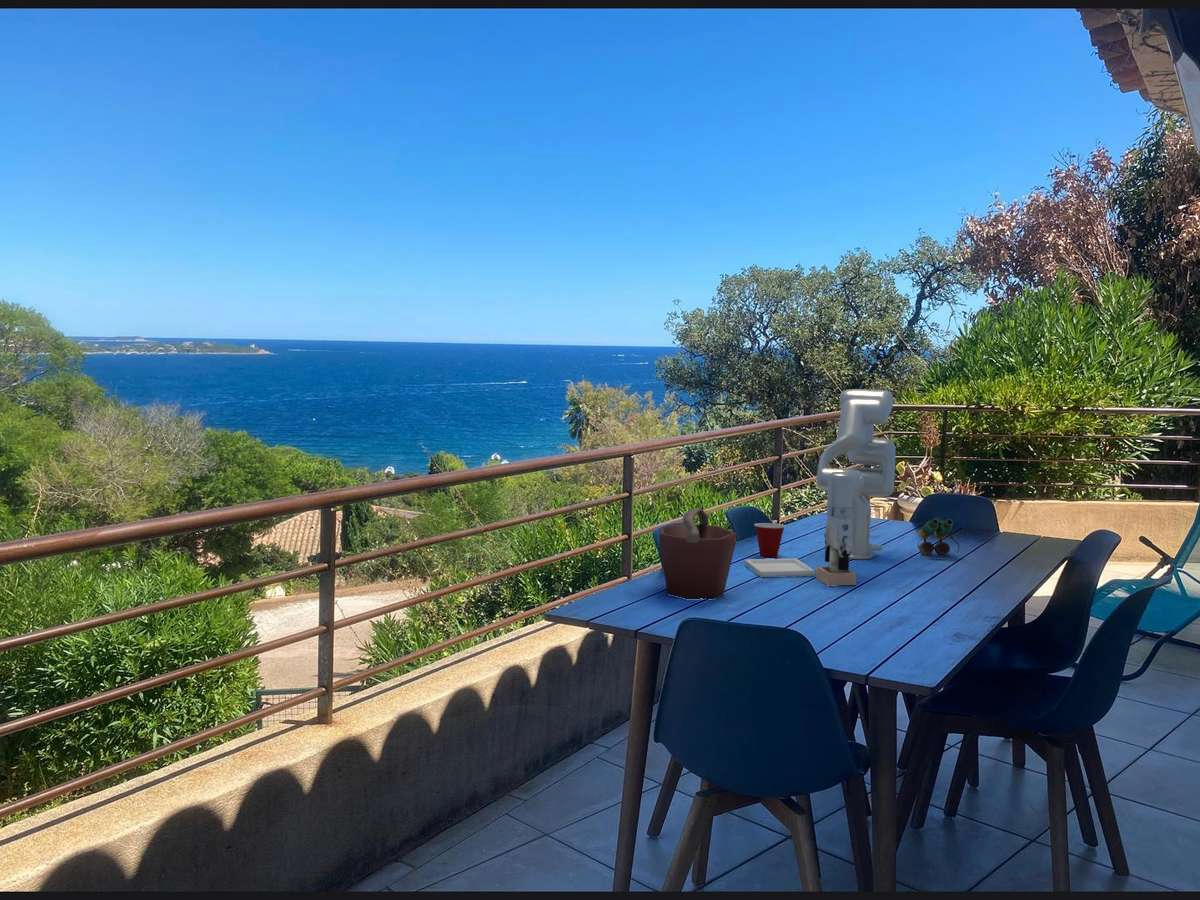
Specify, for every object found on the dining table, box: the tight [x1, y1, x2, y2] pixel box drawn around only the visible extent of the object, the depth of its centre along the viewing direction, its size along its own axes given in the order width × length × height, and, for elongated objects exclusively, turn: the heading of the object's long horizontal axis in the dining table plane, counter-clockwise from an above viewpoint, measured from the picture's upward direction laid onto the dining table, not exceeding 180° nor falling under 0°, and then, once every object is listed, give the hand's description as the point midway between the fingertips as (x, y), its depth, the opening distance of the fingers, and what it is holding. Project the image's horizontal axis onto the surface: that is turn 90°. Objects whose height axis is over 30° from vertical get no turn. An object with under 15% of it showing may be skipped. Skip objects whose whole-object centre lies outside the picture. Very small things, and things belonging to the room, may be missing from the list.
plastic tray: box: [744, 557, 816, 578], centre depth 269 cm, size 18×16×2 cm
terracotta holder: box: [815, 565, 857, 586], centre depth 256 cm, size 9×9×4 cm
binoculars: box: [917, 517, 960, 561], centre depth 290 cm, size 14×14×15 cm
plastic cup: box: [754, 522, 786, 558], centre depth 287 cm, size 11×11×12 cm
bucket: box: [659, 508, 737, 599], centre depth 241 cm, size 24×22×25 cm
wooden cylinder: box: [828, 545, 844, 573], centre depth 256 cm, size 4×4×12 cm
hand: (836, 565), depth 256 cm, fingers open, 9 cm apart
